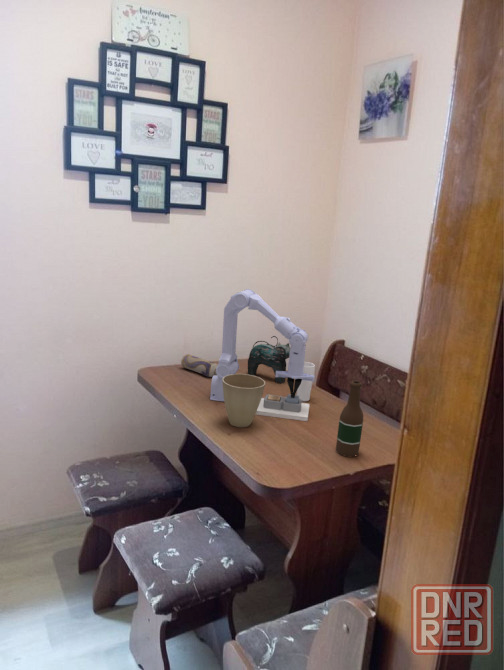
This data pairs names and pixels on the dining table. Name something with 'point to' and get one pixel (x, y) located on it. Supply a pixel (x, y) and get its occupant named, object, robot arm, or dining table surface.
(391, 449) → the dining table surface
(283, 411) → the key panel
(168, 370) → the dining table surface
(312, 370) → the drinking glass
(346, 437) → the beer bottle
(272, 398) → the key oak
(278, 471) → the dining table surface
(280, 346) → the ceramic cat
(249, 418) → the plant pot
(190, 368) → the decorative bottle
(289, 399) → the key slate
